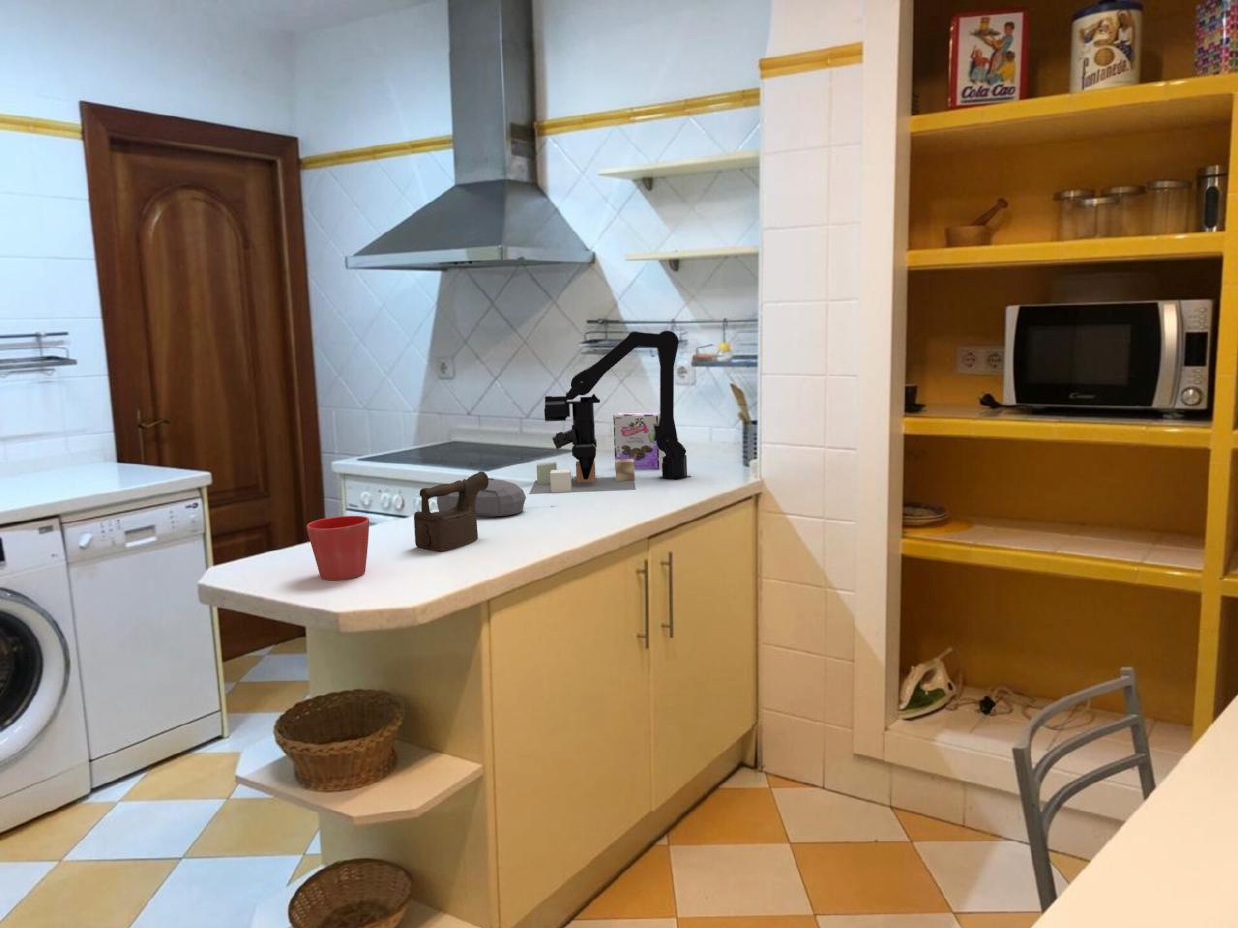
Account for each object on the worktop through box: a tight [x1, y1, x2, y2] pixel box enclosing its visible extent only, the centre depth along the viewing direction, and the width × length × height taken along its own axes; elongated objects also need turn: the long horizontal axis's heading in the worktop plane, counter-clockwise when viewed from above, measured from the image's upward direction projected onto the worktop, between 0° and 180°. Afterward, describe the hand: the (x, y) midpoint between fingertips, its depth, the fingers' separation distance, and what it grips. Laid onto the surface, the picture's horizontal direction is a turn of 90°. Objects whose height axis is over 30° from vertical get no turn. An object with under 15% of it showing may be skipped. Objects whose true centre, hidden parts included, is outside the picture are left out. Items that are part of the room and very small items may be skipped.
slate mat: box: [528, 476, 637, 495], centre depth 252 cm, size 27×21×1 cm
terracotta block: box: [575, 460, 597, 483], centre depth 258 cm, size 5×5×5 cm
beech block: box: [614, 459, 636, 481], centre depth 259 cm, size 5×5×5 cm
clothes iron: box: [413, 470, 489, 553], centre depth 191 cm, size 8×16×13 cm, turn 138°
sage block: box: [536, 461, 558, 484], centre depth 258 cm, size 5×5×5 cm
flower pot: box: [306, 515, 370, 581], centre depth 170 cm, size 11×11×10 cm
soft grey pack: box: [436, 477, 527, 518], centre depth 222 cm, size 15×8×20 cm
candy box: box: [613, 412, 666, 471], centre depth 277 cm, size 14×6×16 cm, turn 68°
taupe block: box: [550, 468, 572, 494], centre depth 245 cm, size 5×5×5 cm
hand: (586, 477), depth 259 cm, fingers closed on terracotta block, 5 cm apart
